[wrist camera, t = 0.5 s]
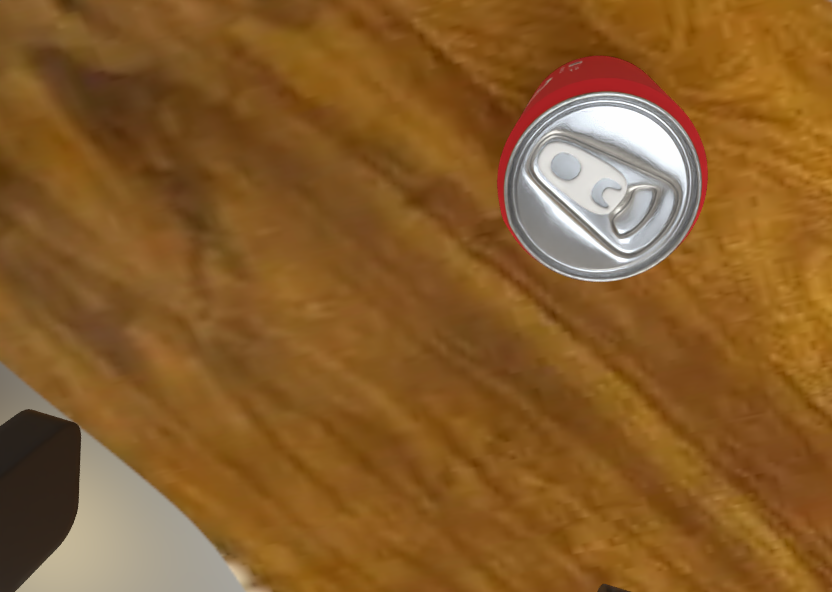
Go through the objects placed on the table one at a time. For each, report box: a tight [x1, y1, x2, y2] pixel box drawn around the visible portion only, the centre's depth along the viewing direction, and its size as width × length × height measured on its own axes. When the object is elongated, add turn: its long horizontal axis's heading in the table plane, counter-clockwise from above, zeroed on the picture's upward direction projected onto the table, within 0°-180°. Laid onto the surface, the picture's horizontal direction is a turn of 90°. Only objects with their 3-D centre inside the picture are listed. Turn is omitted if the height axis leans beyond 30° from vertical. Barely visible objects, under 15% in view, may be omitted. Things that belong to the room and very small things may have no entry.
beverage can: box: [497, 56, 708, 282], centre depth 24 cm, size 5×5×12 cm
